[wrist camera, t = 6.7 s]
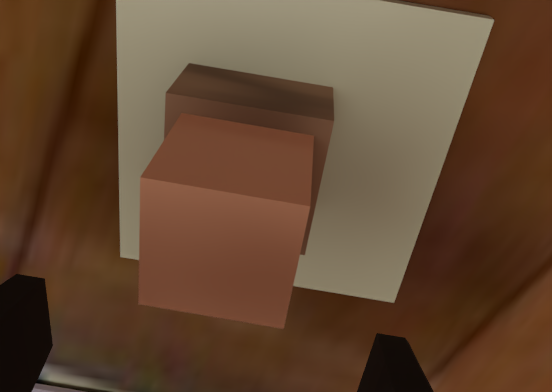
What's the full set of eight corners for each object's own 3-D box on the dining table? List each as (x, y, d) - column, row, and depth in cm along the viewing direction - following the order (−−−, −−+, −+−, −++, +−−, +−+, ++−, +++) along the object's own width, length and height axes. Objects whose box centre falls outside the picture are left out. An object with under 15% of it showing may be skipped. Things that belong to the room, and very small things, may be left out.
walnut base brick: (181, 187, 20) (160, 231, 18) (189, 62, 18) (165, 92, 15) (307, 208, 20) (304, 255, 18) (333, 87, 18) (334, 121, 15)
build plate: (124, 248, 23) (120, 256, 22) (121, -47, 17) (115, -45, 16) (392, 293, 23) (393, 302, 22) (489, 15, 17) (494, 19, 16)
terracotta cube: (175, 222, 17) (138, 304, 14) (181, 112, 15) (140, 177, 12) (291, 242, 17) (283, 329, 14) (314, 135, 15) (310, 206, 12)
